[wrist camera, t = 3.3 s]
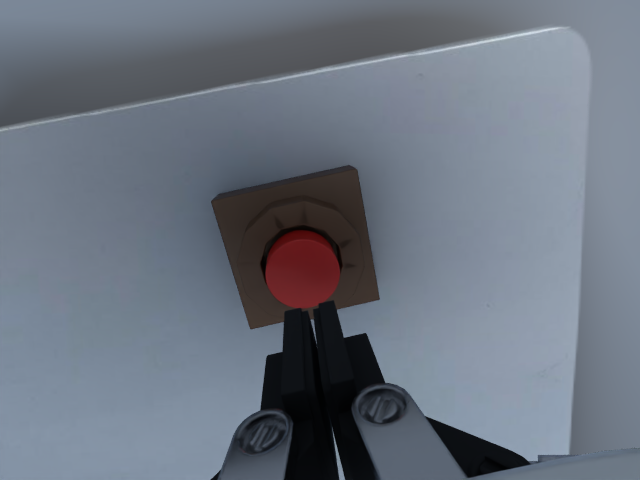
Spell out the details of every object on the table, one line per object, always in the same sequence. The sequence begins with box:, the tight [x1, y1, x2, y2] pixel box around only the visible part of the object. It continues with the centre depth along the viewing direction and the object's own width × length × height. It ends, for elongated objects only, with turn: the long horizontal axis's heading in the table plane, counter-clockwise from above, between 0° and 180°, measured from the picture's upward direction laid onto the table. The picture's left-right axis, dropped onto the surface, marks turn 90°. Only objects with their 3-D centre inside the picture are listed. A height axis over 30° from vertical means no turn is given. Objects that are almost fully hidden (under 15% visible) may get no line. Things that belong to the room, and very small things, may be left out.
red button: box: [265, 230, 340, 308], centre depth 18 cm, size 4×4×2 cm
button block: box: [211, 165, 380, 329], centre depth 20 cm, size 8×8×4 cm
